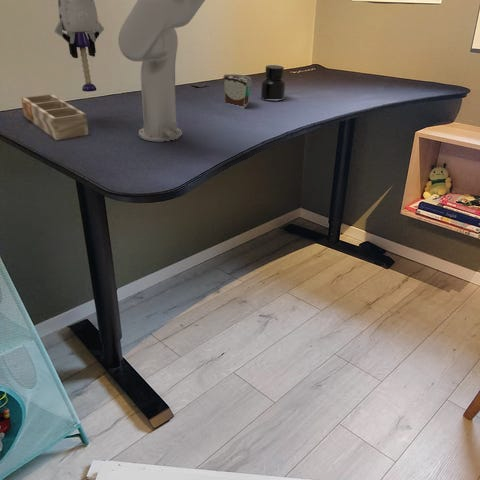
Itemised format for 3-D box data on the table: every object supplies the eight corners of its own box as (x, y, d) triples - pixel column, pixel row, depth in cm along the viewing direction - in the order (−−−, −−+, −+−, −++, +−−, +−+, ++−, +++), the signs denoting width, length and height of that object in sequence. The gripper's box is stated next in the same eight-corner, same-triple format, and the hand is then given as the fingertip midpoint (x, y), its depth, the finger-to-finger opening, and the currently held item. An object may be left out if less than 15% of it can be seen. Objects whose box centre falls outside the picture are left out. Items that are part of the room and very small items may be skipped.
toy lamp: (87, 92, 141) (79, 32, 133) (76, 90, 143) (68, 31, 135) (99, 89, 145) (92, 31, 137) (88, 87, 147) (81, 30, 139)
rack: (88, 134, 137) (86, 114, 134) (54, 140, 132) (51, 119, 129) (54, 112, 154) (51, 93, 151) (23, 116, 149) (19, 97, 146)
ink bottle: (288, 99, 183) (291, 67, 177) (276, 103, 177) (279, 70, 171) (268, 94, 188) (270, 63, 182) (255, 98, 182) (257, 66, 176)
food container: (257, 106, 172) (259, 78, 167) (246, 109, 168) (247, 81, 163) (233, 99, 179) (234, 72, 174) (222, 102, 175) (222, 74, 170)
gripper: (48, -12, 123) (60, 61, 132) (108, -13, 132) (115, 56, 142) (38, -14, 128) (50, 57, 137) (96, -14, 137) (104, 52, 146)
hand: (83, 56), depth 139 cm, fingers closed on toy lamp, 4 cm apart
